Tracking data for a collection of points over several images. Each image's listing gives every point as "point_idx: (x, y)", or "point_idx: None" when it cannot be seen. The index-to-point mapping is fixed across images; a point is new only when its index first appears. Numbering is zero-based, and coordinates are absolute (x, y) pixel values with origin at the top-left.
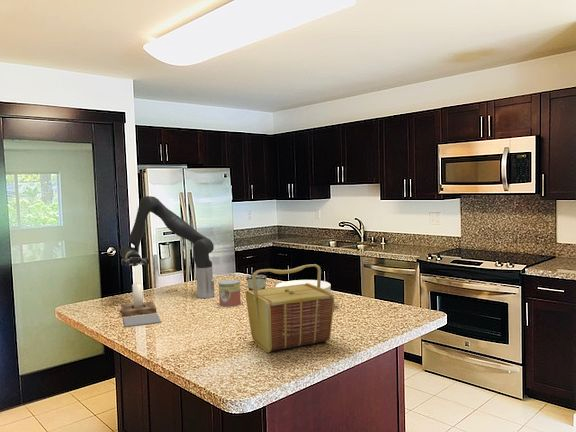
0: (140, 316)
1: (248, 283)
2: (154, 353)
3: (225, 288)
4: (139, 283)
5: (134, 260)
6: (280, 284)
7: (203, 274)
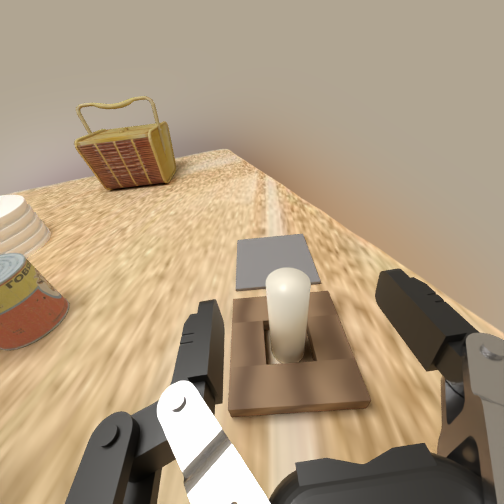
0: None
1: None
2: (259, 177)
3: (32, 265)
4: (278, 296)
5: (382, 459)
6: None
7: None
